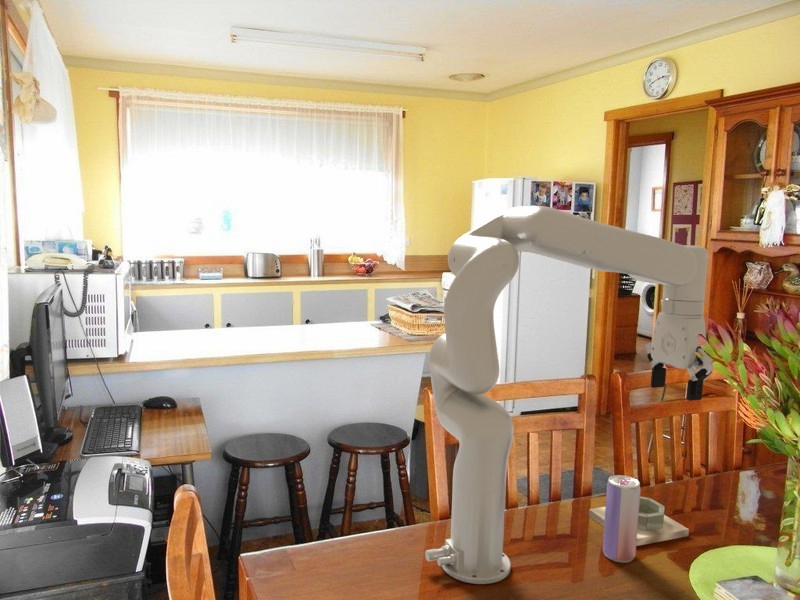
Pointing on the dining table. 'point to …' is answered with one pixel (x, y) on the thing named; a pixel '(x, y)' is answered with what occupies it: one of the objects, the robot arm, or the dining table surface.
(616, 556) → the beverage can
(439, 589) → the dining table surface
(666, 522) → the can holder
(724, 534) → the dining table surface
